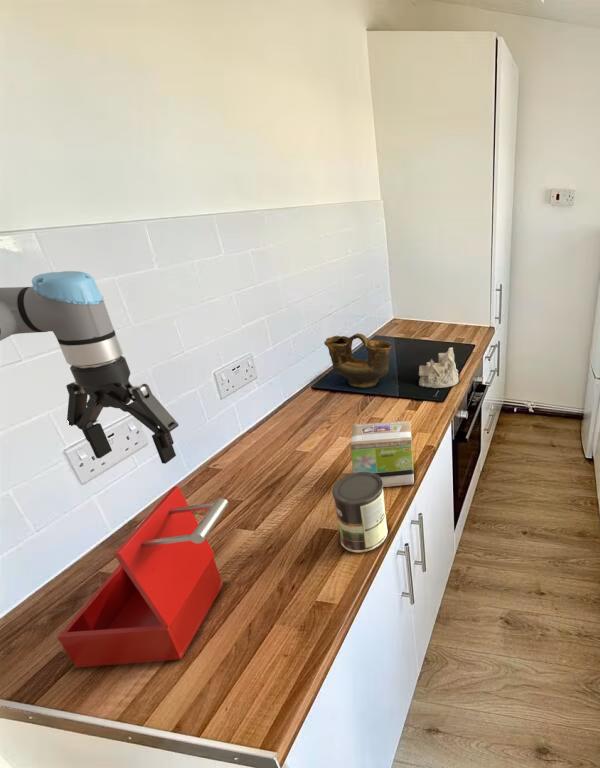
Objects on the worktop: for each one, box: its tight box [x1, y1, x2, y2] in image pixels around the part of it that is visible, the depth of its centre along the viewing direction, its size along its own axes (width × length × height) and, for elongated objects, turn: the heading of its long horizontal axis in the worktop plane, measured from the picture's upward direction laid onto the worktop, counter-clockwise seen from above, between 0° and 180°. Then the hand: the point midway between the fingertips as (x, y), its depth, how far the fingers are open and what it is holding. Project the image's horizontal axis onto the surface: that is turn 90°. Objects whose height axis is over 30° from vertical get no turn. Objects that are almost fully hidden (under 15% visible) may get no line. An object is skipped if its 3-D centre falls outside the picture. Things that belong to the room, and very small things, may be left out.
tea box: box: [349, 420, 415, 488], centre depth 114 cm, size 15×10×15 cm, turn 104°
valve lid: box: [113, 485, 230, 628], centre depth 71 cm, size 16×15×10 cm
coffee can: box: [331, 472, 389, 554], centre depth 95 cm, size 10×10×14 cm
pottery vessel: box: [324, 333, 393, 389], centre depth 163 cm, size 25×11×20 cm, turn 85°
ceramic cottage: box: [418, 347, 459, 389], centre depth 170 cm, size 16×16×15 cm
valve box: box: [56, 557, 224, 669], centre depth 76 cm, size 16×15×8 cm
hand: (136, 457), depth 87 cm, fingers open, 13 cm apart
